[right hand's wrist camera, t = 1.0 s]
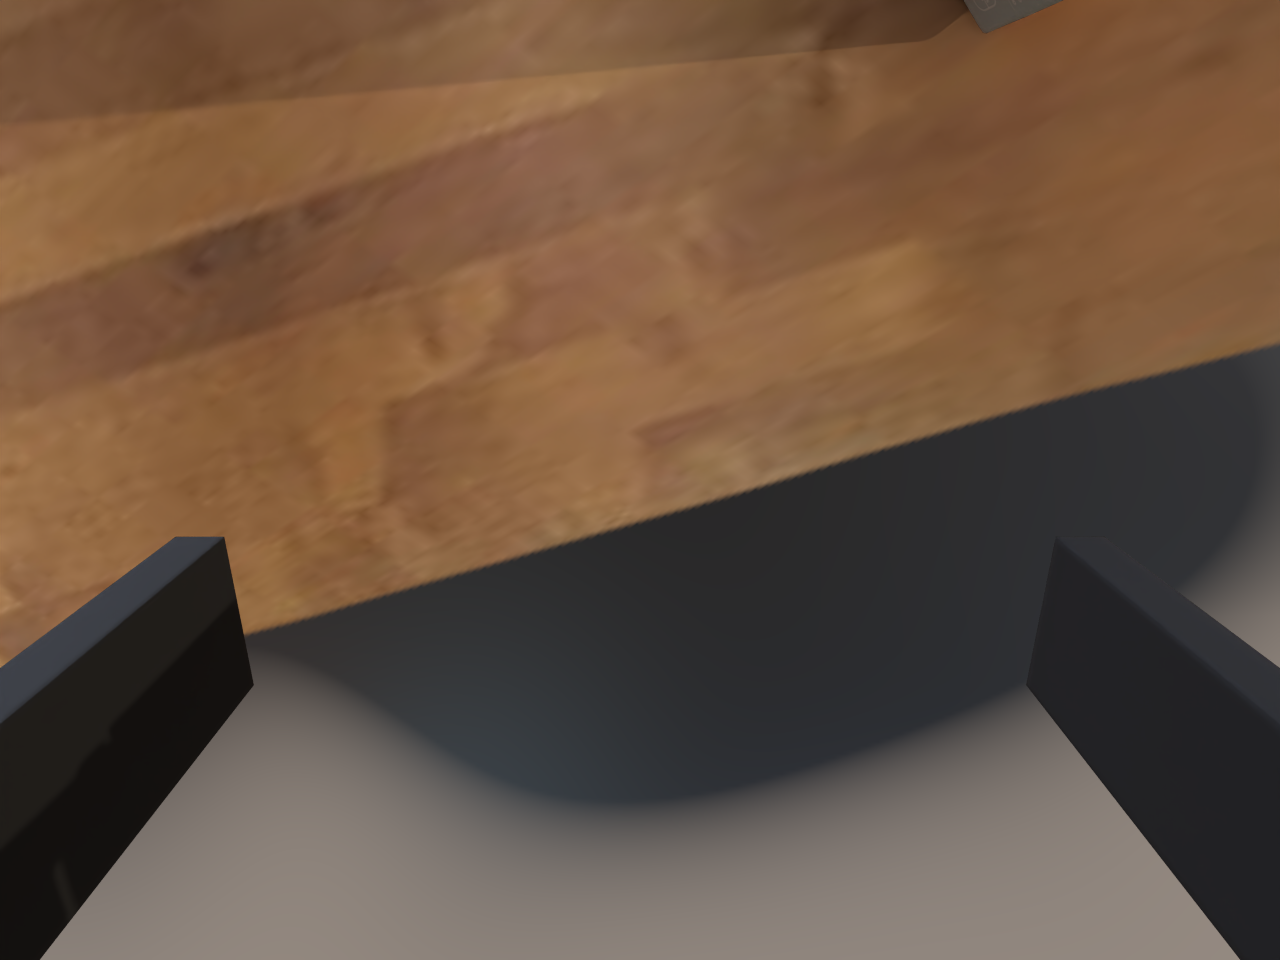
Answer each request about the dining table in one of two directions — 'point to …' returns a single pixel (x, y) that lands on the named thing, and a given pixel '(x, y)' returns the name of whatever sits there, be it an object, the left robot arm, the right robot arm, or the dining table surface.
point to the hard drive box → (1003, 11)
